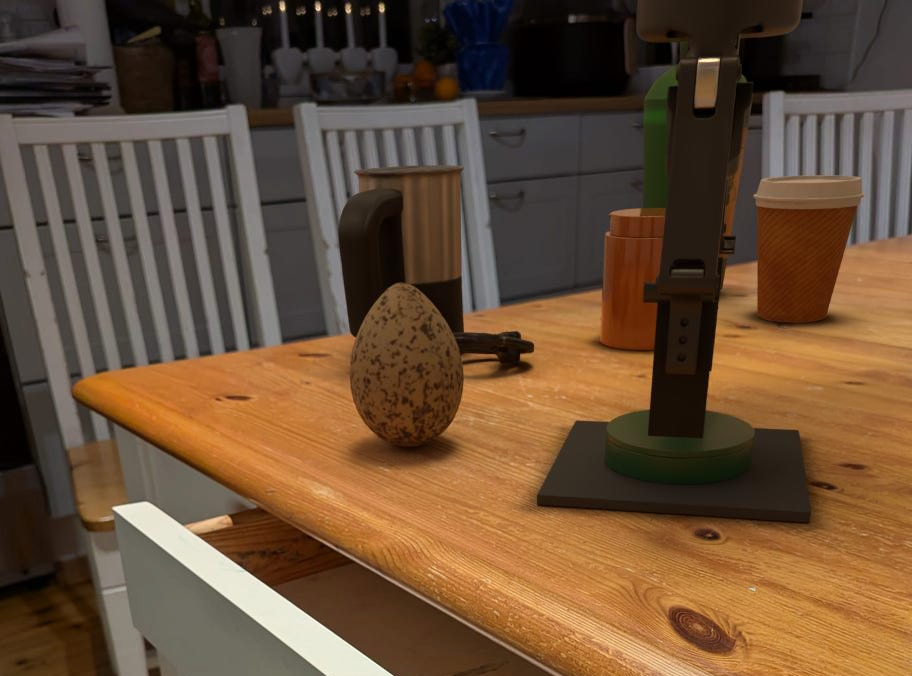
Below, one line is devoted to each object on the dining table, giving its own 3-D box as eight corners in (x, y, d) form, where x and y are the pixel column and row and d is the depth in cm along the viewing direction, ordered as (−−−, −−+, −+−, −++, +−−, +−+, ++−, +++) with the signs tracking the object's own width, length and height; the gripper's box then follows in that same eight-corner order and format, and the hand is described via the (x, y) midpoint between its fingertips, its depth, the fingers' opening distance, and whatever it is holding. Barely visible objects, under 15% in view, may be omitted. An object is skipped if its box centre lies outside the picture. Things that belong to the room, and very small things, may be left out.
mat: (797, 439, 60) (799, 429, 60) (809, 523, 48) (811, 512, 48) (575, 428, 64) (575, 420, 63) (536, 505, 52) (536, 494, 52)
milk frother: (380, 338, 91) (369, 164, 84) (546, 339, 88) (549, 158, 80) (337, 376, 79) (319, 177, 71) (528, 379, 76) (530, 170, 68)
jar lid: (575, 464, 56) (576, 432, 55) (653, 430, 61) (655, 400, 60) (702, 495, 51) (706, 461, 50) (776, 455, 56) (781, 423, 55)
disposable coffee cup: (864, 322, 89) (889, 179, 83) (767, 329, 88) (786, 185, 82) (812, 304, 97) (831, 173, 91) (723, 310, 96) (737, 178, 90)
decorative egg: (456, 463, 58) (451, 292, 54) (343, 461, 60) (328, 294, 55) (472, 428, 65) (469, 272, 60) (369, 427, 66) (358, 274, 61)
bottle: (728, 303, 99) (763, -24, 86) (625, 301, 102) (642, -14, 89) (734, 285, 108) (767, -14, 94) (639, 284, 111) (657, -5, 97)
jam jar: (688, 332, 88) (699, 206, 83) (684, 351, 82) (696, 216, 76) (605, 331, 90) (611, 207, 85) (594, 349, 84) (600, 217, 78)
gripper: (661, -29, 55) (636, 347, 65) (608, -100, 34) (585, 467, 45) (799, -40, 53) (751, 350, 63) (832, -122, 32) (753, 477, 43)
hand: (683, 399), depth 54 cm, fingers open, 13 cm apart
